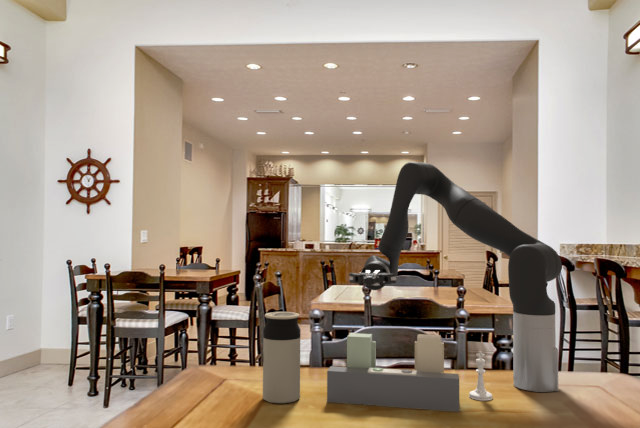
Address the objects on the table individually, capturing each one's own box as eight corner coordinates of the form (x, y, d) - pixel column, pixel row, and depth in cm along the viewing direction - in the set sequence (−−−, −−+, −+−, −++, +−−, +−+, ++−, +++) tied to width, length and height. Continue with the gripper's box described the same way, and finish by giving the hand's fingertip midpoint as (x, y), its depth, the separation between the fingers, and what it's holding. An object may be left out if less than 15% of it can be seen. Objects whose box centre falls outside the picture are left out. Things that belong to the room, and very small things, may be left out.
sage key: (375, 382, 120) (375, 333, 120) (373, 389, 115) (373, 337, 115) (347, 380, 121) (347, 331, 121) (343, 387, 116) (344, 336, 116)
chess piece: (493, 401, 113) (493, 354, 113) (469, 399, 114) (469, 352, 114) (491, 394, 118) (491, 349, 118) (468, 393, 119) (468, 348, 119)
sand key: (443, 383, 119) (443, 334, 119) (444, 390, 114) (444, 338, 114) (414, 382, 120) (414, 333, 121) (413, 388, 115) (414, 337, 116)
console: (456, 394, 118) (456, 362, 118) (459, 411, 106) (459, 376, 107) (337, 385, 124) (337, 355, 124) (327, 401, 112) (327, 368, 112)
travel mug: (306, 396, 116) (306, 313, 117) (288, 406, 109) (289, 318, 109) (274, 391, 119) (275, 310, 120) (255, 401, 112) (256, 315, 113)
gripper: (352, 261, 150) (342, 266, 133) (399, 261, 148) (395, 266, 131) (352, 288, 150) (342, 296, 133) (399, 288, 147) (396, 297, 130)
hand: (369, 281), depth 132 cm, fingers closed
